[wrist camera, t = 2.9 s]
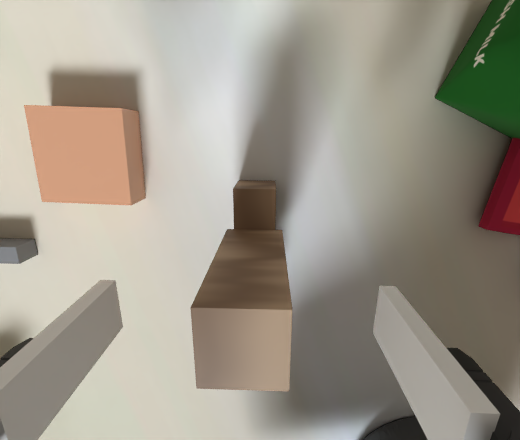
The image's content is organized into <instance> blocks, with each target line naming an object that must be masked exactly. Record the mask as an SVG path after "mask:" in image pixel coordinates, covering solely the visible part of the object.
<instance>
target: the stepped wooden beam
mask: <svg viewBox="0 0 520 440" xmlns="http://www.w3.org/2000/svg"><path fill="white" fill-rule="evenodd" d="M233 202H234V229H227V231H226V233H225V235H224V237H223V240H222V242H221V244H220V246H219V248H218V250H217V252H216V255H215V257H214V259H213V261H212V263H211V265H210V267H209V270H208V272H207V274H206V276H205V278H204V280H203V282H202V285H201V287H200V289H199V291H198V293H197V295H196V297H195V300H194V302H193V304H192V306H191V319H192V332H193V346H194V360H195V373H196V387H197V388H200V389H231V390H261V391H289V381H290V356H291V331H292V303H291V295H290V288H289V280H288V272H287V264H286V256H285V249H284V241H283V233H282V230H275V217H276V184H275V181H252V180H239V181H238V183H237V184H236V185H235V187H234V188H233Z"/></svg>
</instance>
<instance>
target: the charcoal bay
mask: <svg viewBox="0 0 520 440" xmlns="http://www.w3.org/2000/svg"><path fill="white" fill-rule="evenodd" d="M36 255H38V253H37V248H36V244H35V240H34V239H0V263H12V264H20V263H22V262H24V261H26V260H28V259H30V258H32V257H34V256H36Z"/></svg>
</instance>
